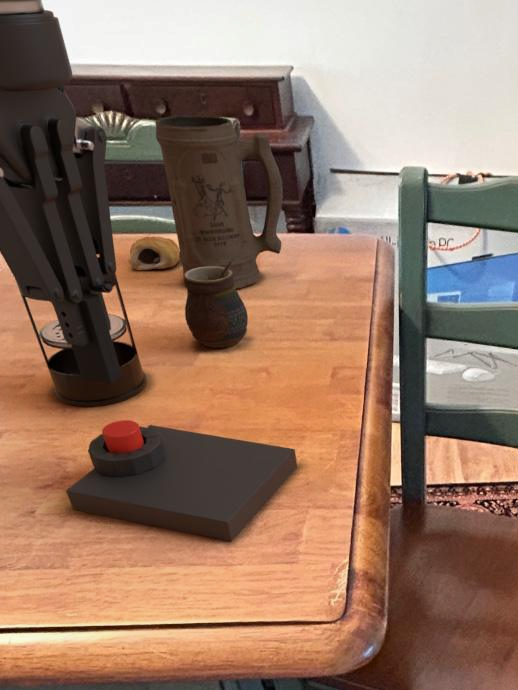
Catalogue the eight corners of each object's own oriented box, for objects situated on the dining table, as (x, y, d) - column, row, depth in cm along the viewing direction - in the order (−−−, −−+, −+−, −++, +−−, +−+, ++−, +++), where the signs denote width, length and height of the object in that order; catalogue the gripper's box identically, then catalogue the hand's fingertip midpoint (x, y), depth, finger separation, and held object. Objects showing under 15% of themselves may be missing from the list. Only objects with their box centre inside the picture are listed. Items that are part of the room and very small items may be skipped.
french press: (49, 376, 81) (-40, 134, 66) (137, 360, 85) (71, 126, 70) (63, 421, 74) (-35, 157, 58) (159, 401, 77) (90, 148, 62)
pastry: (145, 252, 116) (139, 226, 113) (189, 252, 116) (183, 226, 114) (129, 271, 109) (122, 243, 106) (175, 271, 109) (169, 244, 107)
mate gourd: (210, 327, 93) (192, 242, 86) (264, 334, 91) (251, 248, 85) (179, 349, 87) (158, 260, 81) (236, 356, 86) (219, 267, 79)
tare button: (100, 452, 63) (94, 433, 62) (121, 435, 65) (116, 417, 64) (130, 457, 62) (124, 438, 61) (151, 440, 64) (146, 422, 63)
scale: (63, 507, 62) (48, 471, 60) (146, 441, 71) (136, 407, 68) (231, 541, 59) (223, 504, 56) (297, 467, 67) (292, 432, 65)
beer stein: (185, 296, 101) (159, 124, 88) (173, 272, 108) (148, 111, 96) (295, 289, 106) (285, 127, 94) (276, 268, 114) (265, 114, 101)
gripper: (-46, 14, 39) (90, 421, 54) (108, 3, 48) (186, 353, 64) (-158, 8, 40) (6, 405, 56) (12, -1, 50) (112, 341, 65)
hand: (102, 377), depth 60 cm, fingers closed
